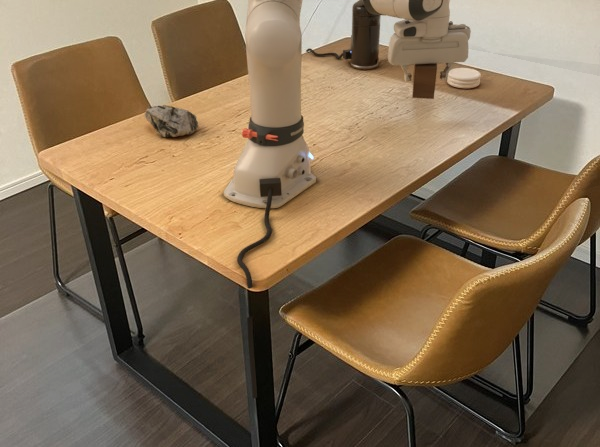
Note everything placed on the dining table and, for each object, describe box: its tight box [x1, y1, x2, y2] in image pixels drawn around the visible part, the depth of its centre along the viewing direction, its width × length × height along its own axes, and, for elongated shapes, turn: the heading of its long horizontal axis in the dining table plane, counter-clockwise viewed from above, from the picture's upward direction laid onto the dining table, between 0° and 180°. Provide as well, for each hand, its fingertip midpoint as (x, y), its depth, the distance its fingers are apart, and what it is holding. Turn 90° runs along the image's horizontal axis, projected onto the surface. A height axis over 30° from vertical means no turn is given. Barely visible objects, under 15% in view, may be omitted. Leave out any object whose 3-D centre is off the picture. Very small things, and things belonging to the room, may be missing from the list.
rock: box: [144, 104, 199, 138], centre depth 165 cm, size 15×10×7 cm
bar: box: [411, 63, 438, 100], centre depth 168 cm, size 25×6×8 cm, turn 170°
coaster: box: [446, 67, 482, 89], centre depth 192 cm, size 10×10×4 cm
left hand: (425, 79), depth 161 cm, fingers open, 8 cm apart
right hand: (424, 58), depth 176 cm, fingers closed on bar, 5 cm apart
